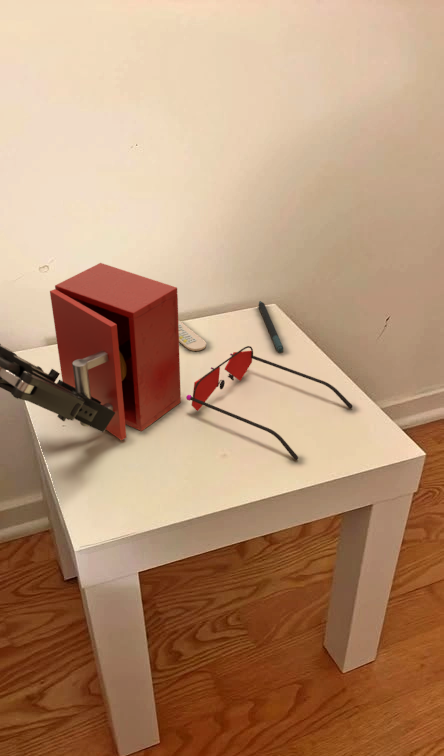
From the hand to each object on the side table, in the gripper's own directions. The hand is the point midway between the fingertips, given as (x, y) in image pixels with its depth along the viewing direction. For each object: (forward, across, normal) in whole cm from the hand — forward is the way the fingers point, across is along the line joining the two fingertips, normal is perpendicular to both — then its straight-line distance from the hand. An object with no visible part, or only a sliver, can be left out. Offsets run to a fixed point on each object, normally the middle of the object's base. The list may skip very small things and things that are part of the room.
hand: (100, 415), depth 91 cm
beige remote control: (+20, -15, +14) cm, 28 cm away
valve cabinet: (+8, -6, +2) cm, 10 cm away
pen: (+29, -15, +22) cm, 40 cm away
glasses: (+17, +8, +11) cm, 22 cm away
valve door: (+2, -4, -3) cm, 5 cm away
